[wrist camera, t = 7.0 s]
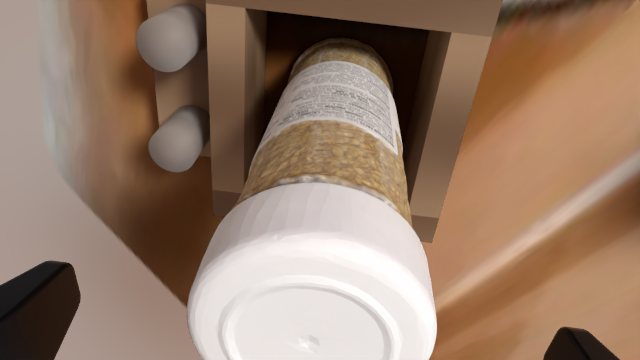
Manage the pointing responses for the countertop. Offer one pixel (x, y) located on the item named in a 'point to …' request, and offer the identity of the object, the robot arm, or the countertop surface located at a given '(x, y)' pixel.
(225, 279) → the sprinkles bottle
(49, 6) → the countertop surface
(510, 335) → the countertop surface
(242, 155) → the slot block
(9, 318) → the robot arm
